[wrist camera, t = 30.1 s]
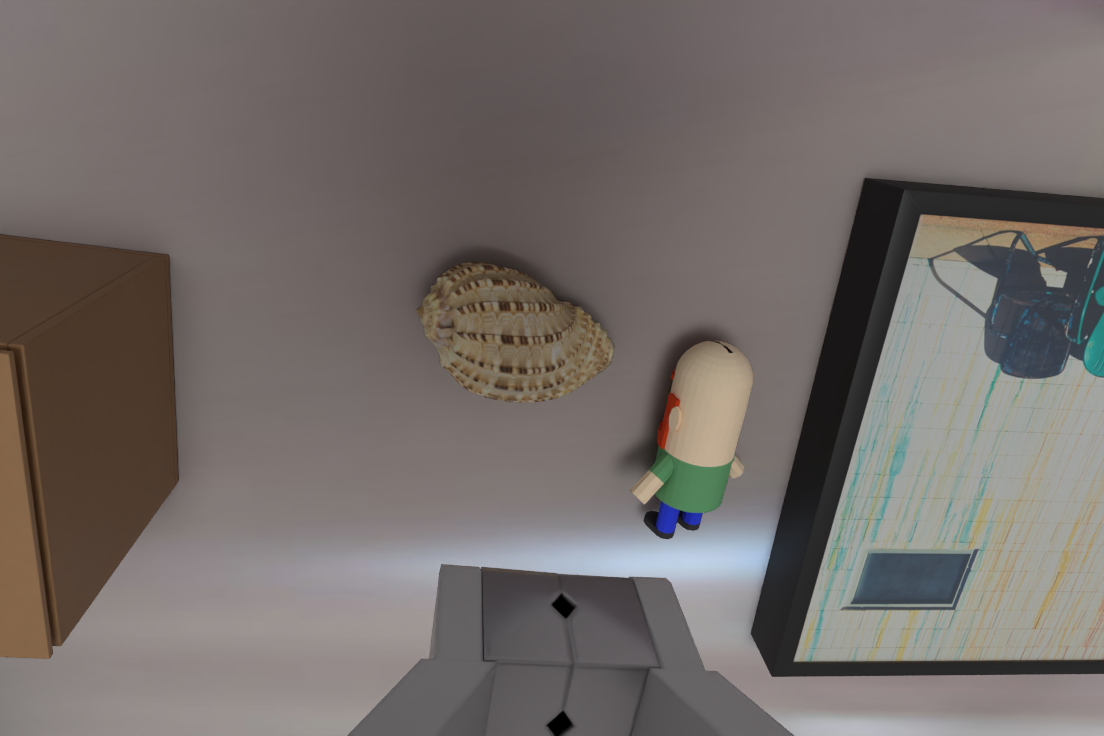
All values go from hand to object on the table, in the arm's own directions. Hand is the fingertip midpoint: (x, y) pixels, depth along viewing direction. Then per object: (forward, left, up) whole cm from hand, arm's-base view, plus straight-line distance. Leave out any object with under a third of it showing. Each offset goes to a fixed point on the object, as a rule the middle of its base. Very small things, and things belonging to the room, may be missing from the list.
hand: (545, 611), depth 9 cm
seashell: (+6, +2, -29) cm, 30 cm away
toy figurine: (+11, +13, -29) cm, 34 cm away
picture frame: (+10, +35, -29) cm, 47 cm away
